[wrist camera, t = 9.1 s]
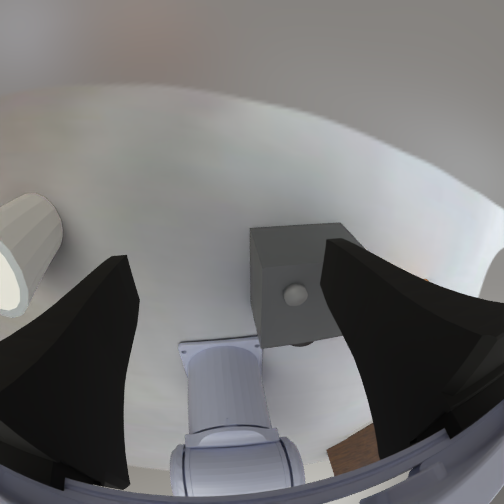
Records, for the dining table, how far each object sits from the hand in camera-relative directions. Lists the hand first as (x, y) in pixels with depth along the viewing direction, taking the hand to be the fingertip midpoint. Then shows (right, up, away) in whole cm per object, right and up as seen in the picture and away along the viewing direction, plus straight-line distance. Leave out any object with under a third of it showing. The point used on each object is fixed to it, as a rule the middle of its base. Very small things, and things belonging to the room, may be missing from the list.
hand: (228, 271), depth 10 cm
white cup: (-16, +3, +7) cm, 18 cm away
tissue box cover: (+34, -49, +46) cm, 75 cm away
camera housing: (+4, 0, +12) cm, 13 cm away
